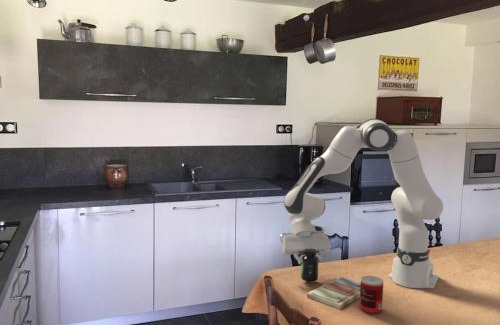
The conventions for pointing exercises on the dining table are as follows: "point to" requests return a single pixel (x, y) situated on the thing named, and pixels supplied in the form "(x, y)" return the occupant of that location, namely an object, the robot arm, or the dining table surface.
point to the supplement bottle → (309, 266)
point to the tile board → (337, 292)
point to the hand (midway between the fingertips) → (310, 262)
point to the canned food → (371, 294)
